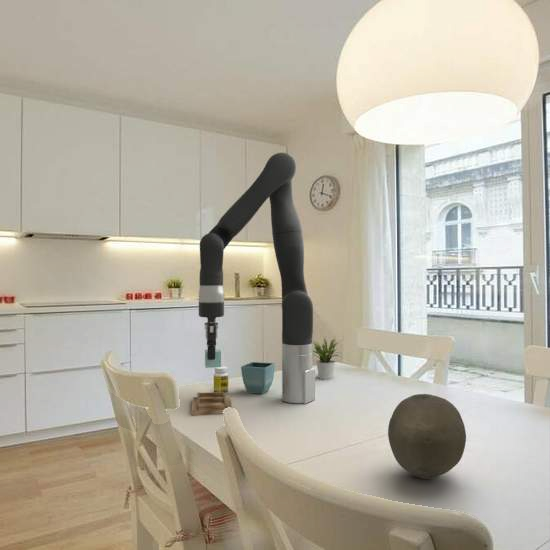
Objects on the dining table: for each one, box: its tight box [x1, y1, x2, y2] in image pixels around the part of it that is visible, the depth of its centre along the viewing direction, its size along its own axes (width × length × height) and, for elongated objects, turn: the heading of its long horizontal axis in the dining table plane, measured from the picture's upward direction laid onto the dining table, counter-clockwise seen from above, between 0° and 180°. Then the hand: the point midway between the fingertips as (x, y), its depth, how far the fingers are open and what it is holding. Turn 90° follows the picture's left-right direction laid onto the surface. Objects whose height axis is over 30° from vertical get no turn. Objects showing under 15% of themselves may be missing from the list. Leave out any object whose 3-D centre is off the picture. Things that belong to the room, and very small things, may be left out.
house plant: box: [312, 335, 343, 380], centre depth 171 cm, size 14×14×16 cm
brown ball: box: [387, 393, 467, 479], centre depth 84 cm, size 14×14×15 cm
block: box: [204, 348, 222, 369], centre depth 136 cm, size 4×4×4 cm
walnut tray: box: [191, 391, 233, 416], centre depth 132 cm, size 11×15×2 cm
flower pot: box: [240, 361, 276, 395], centre depth 150 cm, size 9×9×9 cm
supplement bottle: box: [213, 365, 229, 395], centre depth 148 cm, size 5×5×8 cm
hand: (211, 357), depth 136 cm, fingers closed on block, 4 cm apart
